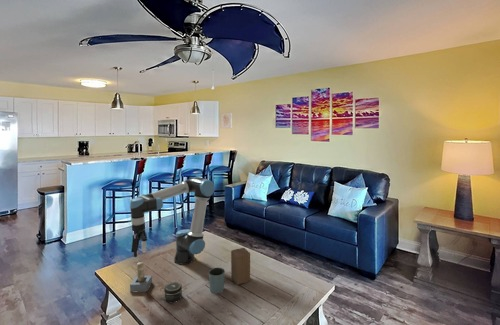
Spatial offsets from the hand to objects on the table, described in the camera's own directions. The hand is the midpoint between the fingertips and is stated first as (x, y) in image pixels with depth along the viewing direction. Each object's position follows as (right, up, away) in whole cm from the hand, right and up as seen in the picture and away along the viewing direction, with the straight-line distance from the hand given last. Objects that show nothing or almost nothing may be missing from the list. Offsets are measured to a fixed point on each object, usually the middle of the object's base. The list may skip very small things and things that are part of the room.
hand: (140, 256), depth 168 cm
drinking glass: (+48, -21, +1) cm, 52 cm away
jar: (+23, -22, -8) cm, 33 cm away
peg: (0, -21, +2) cm, 21 cm away
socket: (0, -21, +2) cm, 21 cm away
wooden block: (+62, -20, +11) cm, 66 cm away
